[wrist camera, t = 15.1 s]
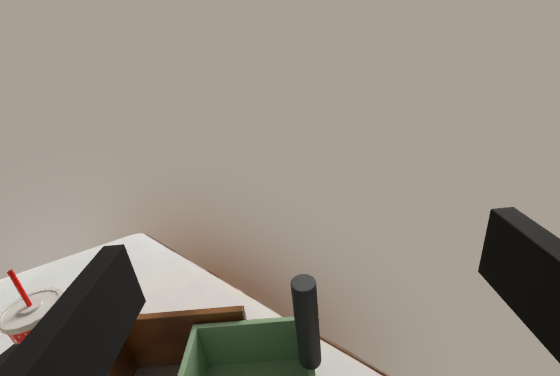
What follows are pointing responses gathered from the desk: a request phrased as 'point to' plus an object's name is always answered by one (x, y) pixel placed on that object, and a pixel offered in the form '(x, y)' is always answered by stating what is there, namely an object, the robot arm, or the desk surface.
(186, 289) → the desk surface
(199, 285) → the desk surface
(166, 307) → the desk surface
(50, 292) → the beverage cup
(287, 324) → the green open box
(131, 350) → the wooden drawer casing
